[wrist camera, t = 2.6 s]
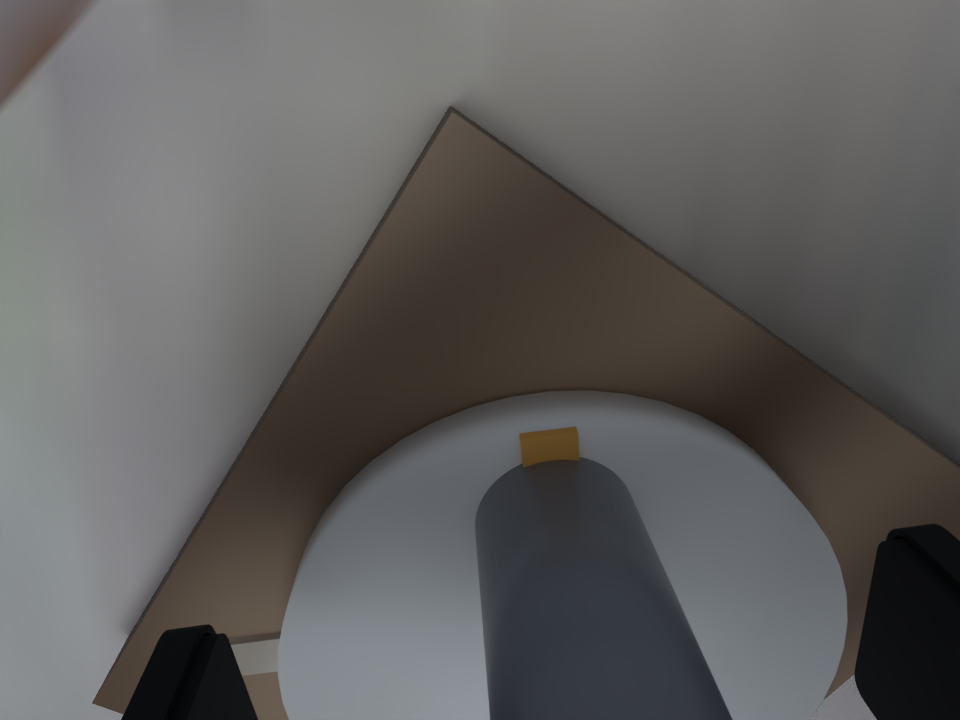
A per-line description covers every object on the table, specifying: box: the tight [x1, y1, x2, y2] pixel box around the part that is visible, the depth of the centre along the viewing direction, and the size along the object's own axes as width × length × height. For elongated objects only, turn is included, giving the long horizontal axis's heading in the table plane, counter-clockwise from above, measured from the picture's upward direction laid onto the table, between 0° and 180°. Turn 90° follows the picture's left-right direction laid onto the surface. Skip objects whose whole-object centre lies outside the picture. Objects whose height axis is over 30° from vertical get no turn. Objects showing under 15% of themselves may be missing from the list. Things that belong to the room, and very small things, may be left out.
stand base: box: [92, 106, 960, 720], centre depth 16 cm, size 16×16×2 cm
